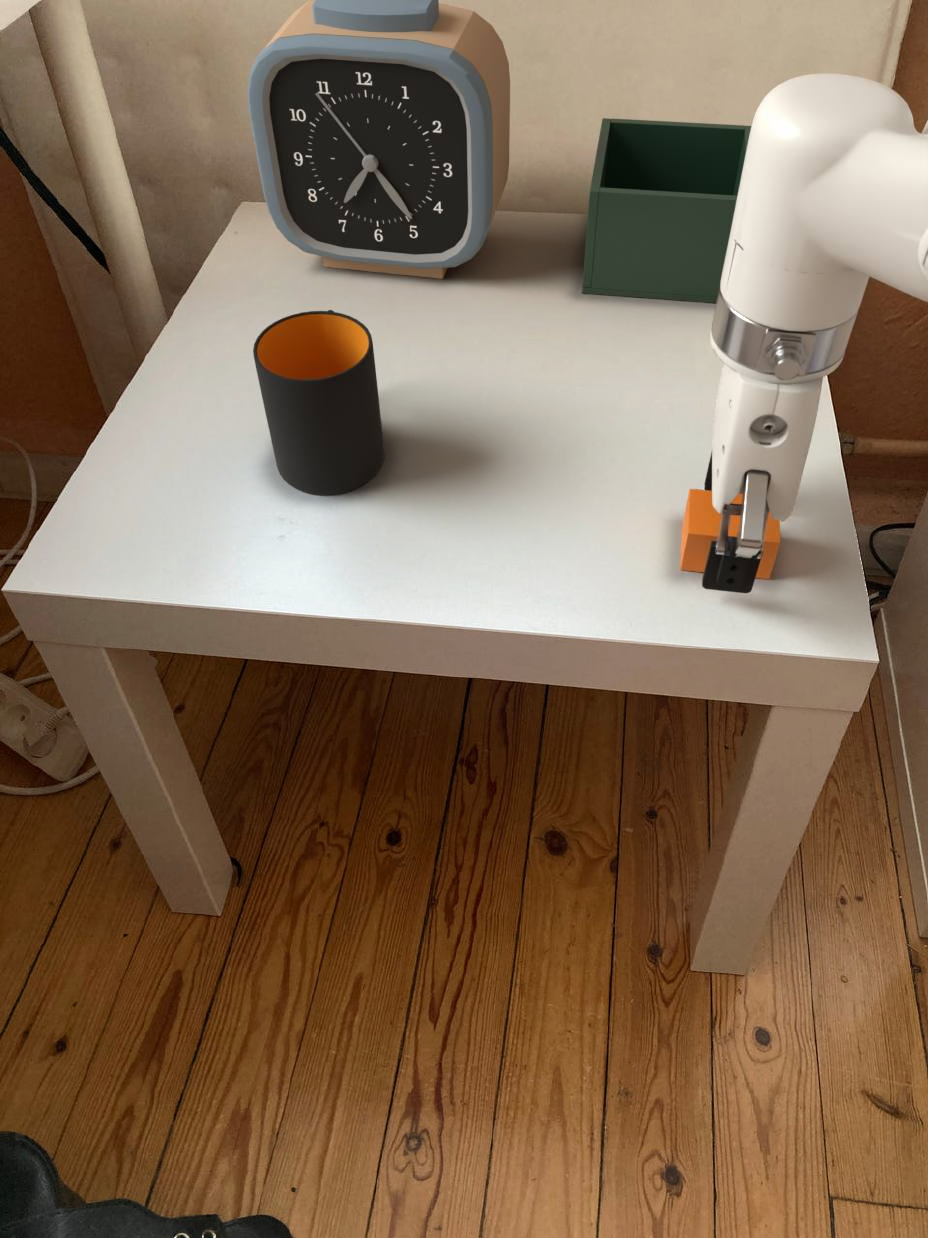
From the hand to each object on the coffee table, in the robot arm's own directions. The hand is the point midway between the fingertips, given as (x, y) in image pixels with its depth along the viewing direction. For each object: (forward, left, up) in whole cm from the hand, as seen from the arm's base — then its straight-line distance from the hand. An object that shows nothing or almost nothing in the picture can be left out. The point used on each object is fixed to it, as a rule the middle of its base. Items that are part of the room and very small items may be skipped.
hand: (726, 537), depth 71 cm
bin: (+6, -37, -1) cm, 38 cm away
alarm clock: (+31, -35, -2) cm, 47 cm away
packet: (0, 0, -1) cm, 1 cm away
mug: (+30, -7, -2) cm, 31 cm away
